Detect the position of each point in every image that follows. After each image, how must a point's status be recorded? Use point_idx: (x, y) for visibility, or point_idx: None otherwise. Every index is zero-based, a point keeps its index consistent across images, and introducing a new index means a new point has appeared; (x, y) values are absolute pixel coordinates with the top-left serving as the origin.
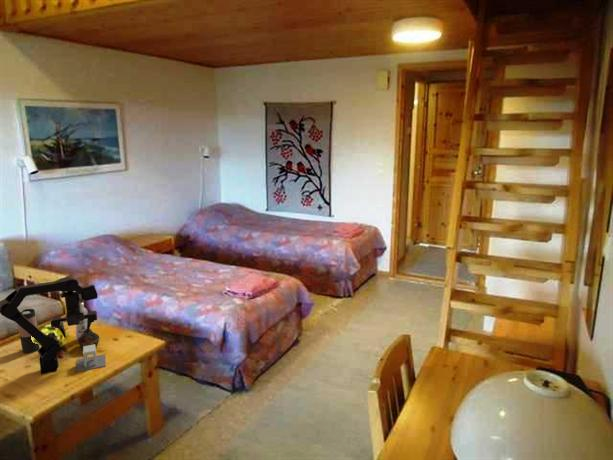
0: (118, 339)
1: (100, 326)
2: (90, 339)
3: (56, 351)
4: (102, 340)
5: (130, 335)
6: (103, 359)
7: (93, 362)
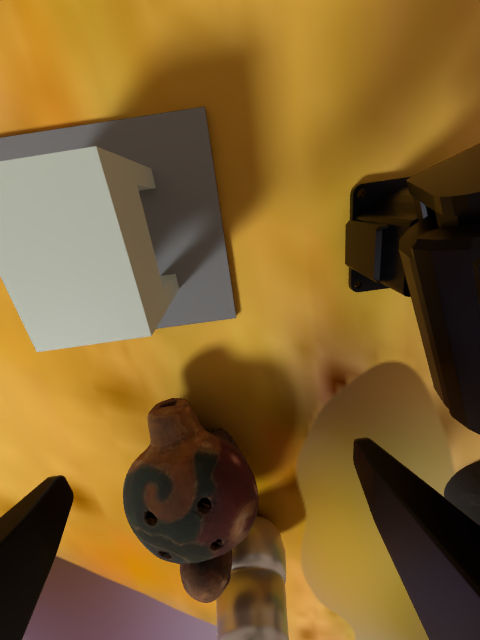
0: None
1: (197, 605)
2: (157, 477)
3: (442, 183)
4: None
5: None
6: None
7: None
